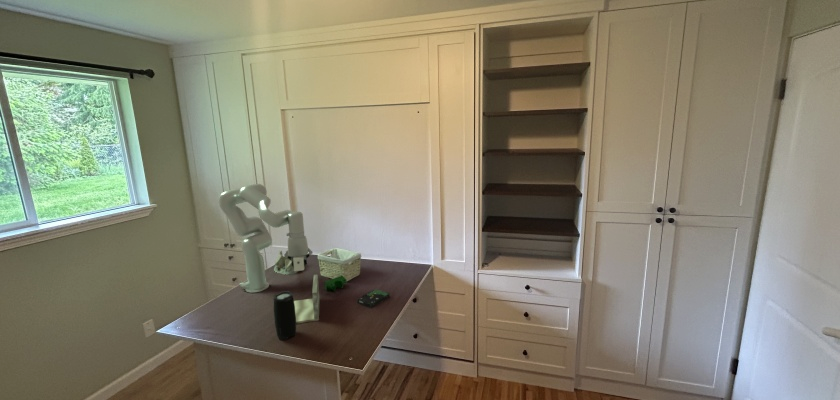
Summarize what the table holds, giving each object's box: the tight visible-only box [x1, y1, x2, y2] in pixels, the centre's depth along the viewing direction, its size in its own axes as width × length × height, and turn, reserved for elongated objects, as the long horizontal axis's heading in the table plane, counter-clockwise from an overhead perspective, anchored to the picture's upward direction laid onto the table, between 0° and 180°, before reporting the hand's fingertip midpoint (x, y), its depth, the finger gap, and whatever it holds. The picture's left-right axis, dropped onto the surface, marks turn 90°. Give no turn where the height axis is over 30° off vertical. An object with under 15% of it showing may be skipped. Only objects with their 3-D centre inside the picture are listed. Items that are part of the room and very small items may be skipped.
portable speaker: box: [272, 290, 297, 341], centre depth 148 cm, size 9×9×20 cm
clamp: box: [324, 276, 348, 293], centre depth 195 cm, size 12×6×9 cm, turn 128°
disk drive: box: [356, 289, 391, 309], centre depth 182 cm, size 10×3×15 cm
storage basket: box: [317, 247, 362, 282], centre depth 213 cm, size 24×16×15 cm
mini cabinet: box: [293, 256, 305, 272], centre depth 183 cm, size 5×10×7 cm, turn 16°
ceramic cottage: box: [273, 250, 299, 276], centre depth 222 cm, size 16×16×15 cm
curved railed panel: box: [294, 273, 321, 325], centre depth 169 cm, size 19×22×14 cm
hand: (299, 266), depth 184 cm, fingers closed on mini cabinet, 5 cm apart
